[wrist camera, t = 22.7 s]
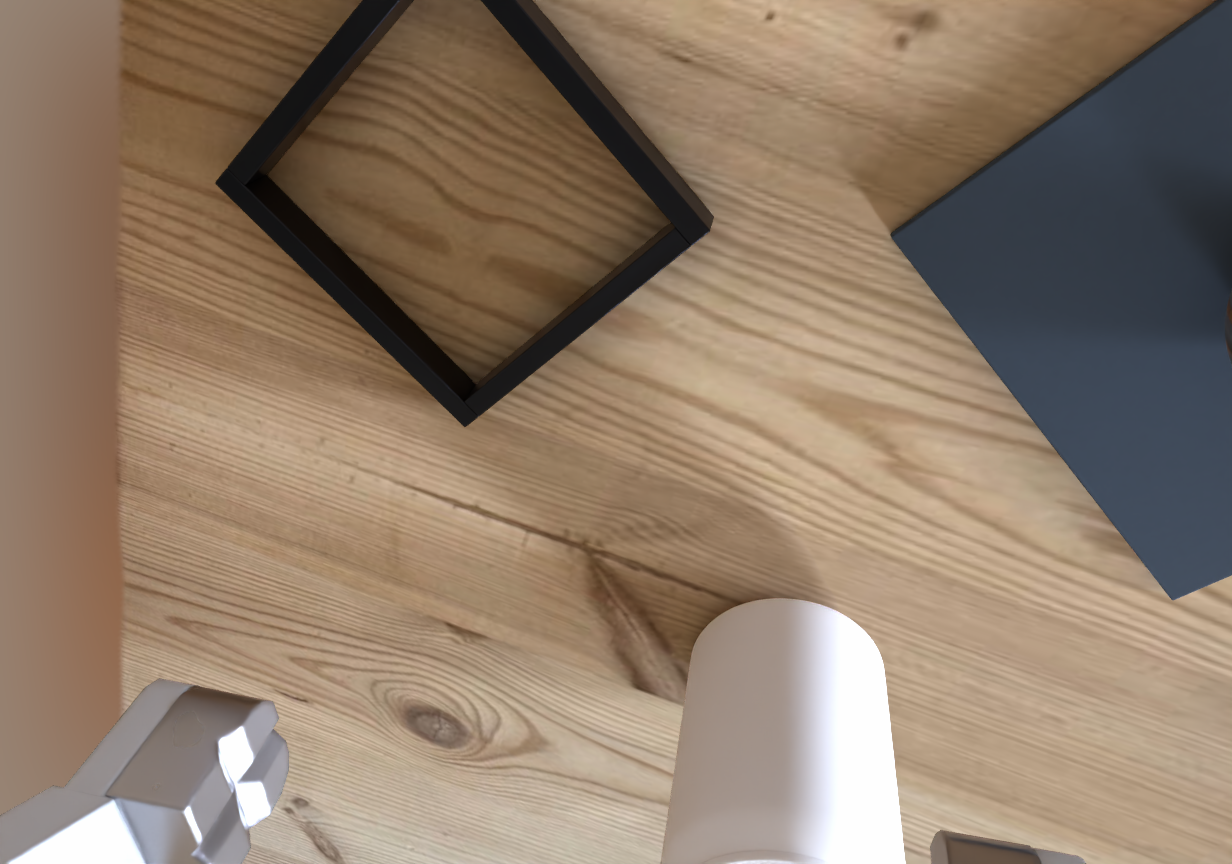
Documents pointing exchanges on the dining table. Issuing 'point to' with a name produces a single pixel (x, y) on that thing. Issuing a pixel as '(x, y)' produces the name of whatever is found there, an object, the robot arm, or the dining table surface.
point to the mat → (1114, 292)
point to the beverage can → (784, 743)
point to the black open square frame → (365, 298)
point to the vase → (1229, 327)
